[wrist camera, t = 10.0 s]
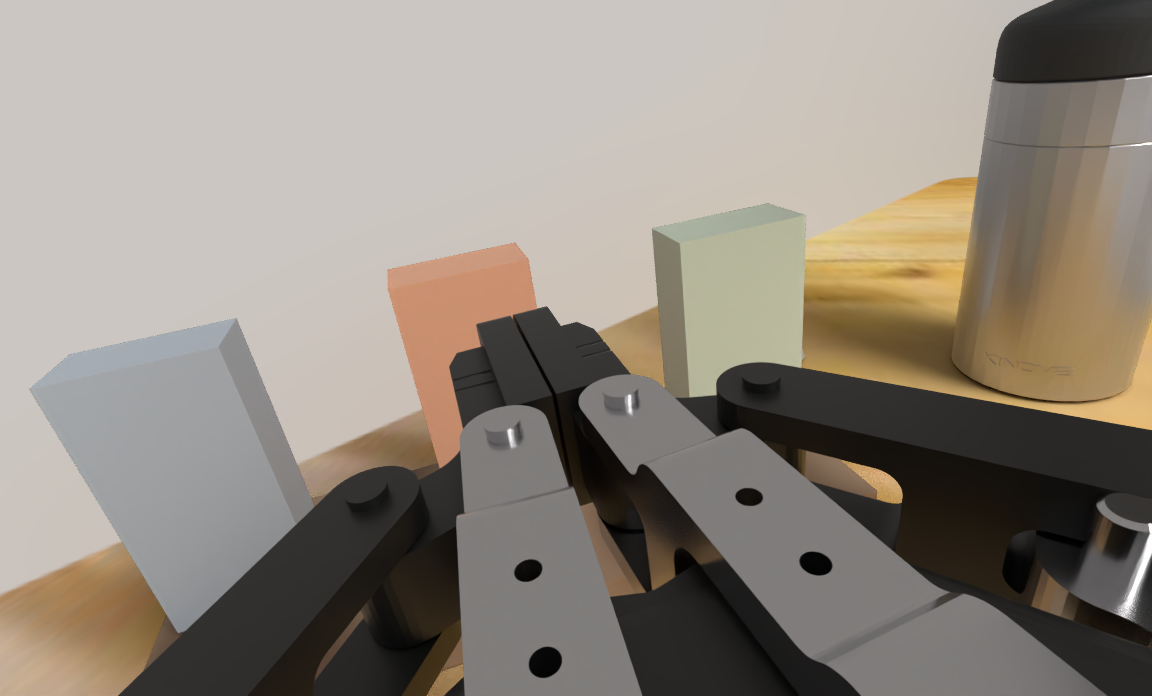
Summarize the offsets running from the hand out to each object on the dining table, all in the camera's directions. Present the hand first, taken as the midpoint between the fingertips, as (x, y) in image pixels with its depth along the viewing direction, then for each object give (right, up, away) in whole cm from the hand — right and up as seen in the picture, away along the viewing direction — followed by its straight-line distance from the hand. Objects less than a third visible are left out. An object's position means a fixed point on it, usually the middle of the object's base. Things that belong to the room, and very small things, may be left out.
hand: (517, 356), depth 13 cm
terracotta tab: (-2, -7, +19) cm, 21 cm away
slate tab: (-13, -11, +15) cm, 23 cm away
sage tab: (+10, -5, +20) cm, 22 cm away
